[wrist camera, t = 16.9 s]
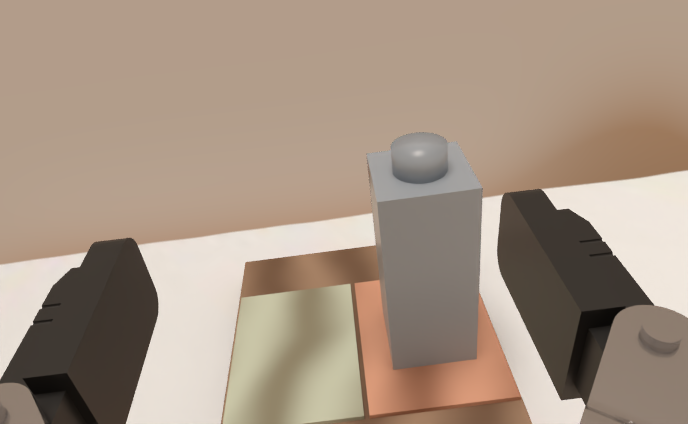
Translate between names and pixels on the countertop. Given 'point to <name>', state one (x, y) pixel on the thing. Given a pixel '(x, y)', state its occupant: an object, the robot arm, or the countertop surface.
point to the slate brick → (427, 249)
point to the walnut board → (349, 354)
